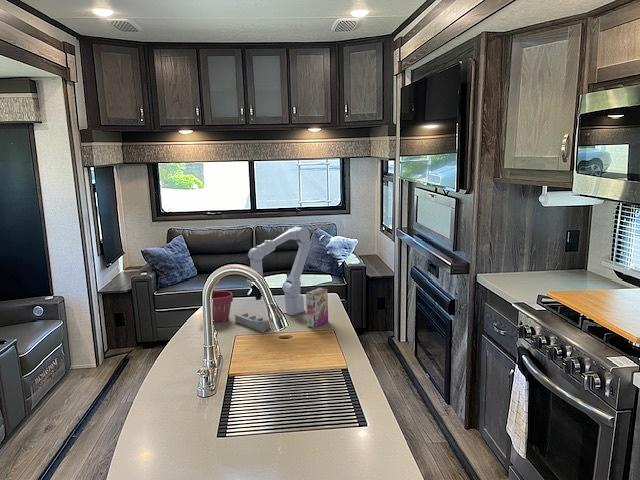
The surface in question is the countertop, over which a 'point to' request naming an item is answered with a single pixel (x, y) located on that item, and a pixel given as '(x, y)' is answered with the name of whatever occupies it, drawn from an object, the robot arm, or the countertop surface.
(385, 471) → the countertop surface
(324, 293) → the candy bar box
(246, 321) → the grey comb rack
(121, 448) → the countertop surface
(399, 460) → the countertop surface
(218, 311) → the plant pot
